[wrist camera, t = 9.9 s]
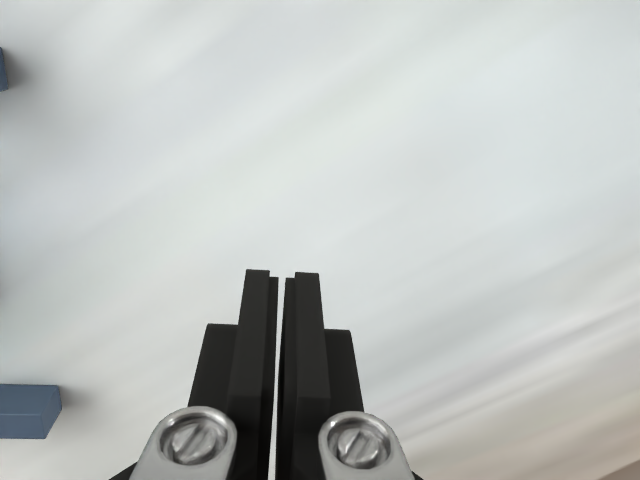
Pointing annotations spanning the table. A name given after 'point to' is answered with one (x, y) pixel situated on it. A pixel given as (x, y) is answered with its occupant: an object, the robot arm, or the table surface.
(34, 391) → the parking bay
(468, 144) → the table surface
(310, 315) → the robot arm
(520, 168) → the table surface
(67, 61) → the table surface
